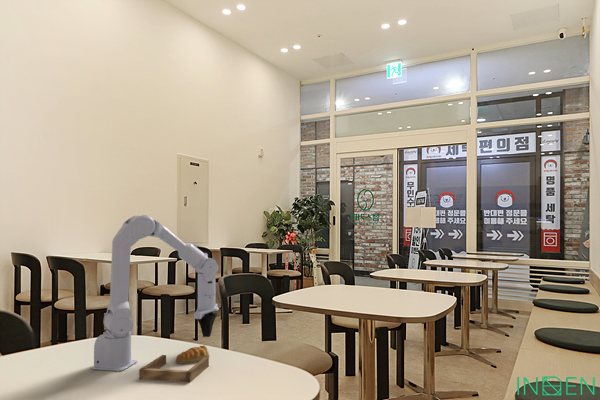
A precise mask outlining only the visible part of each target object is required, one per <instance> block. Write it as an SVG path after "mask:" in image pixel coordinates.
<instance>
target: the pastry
mask: <svg viewBox="0 0 600 400" xmlns="http://www.w3.org/2000/svg"><path fill="white" fill-rule="evenodd" d="M204 357H209V358H210V353H209V351H208V348H207V346H206V345H199V346H194V347H190V348H188V349H187V350H185V351H182V352H181V353H180V354H178V355H177V356H176V359H175V361H176V362H177V363H179V364H181V365H182V364H183V365H187V364H197V363H198V362H199V361H201V360H202V359H203V358H204Z"/></svg>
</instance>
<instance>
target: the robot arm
mask: <svg viewBox="0 0 600 400" xmlns="http://www.w3.org/2000/svg"><path fill="white" fill-rule="evenodd" d="M147 237H154V238H158V239H159V240H161V241H162V242H164V243H165V244H166V245H168V246H169V247H171V248H173V249H174V250H176V251H177V252H178V253H177V255H178V258H179V259H181V260H182V261H184V262H185V263H186V264H188V265H189V266H190V267H192V268H193V269H194V271H195V273H197V308H196V310H195V312H194V319H195V320H197V322H198V324H199V326H200V330H201V334H202V337H203V338H209V337H211V335H212V331H213V326H214V322H215V321H216V318H217V315H218V311H219V310H220V308H219V307H218V303H216V300H217V299H216V275H217V273H218V271H219V268H220V267H219V265H218V263H217V261H216V259H214V258H212V257H208V256H209V254H208V253H207V252H203V251H202V250H201V249H199V248H198V245H197V244H196V243H192V242H186V243H185V242H184V241H183V240H181V239H180V238H179V237H178V236H177V235H176V234H174V233H173V232H172V231H171V230H170V229H168V228H167V227H166V226H165V225H163V224H162V223H161V222H160V221H158V220H156V219H154V218H153V217H152V216H151V215H147V214H142V215H134V216H131V217H130V218H128V219H127V220H124V222H123V223H122V225H121V227H120V229H119V230H118V231H117V233H116V234H115V236H114V237H113V238H112V243H111V262H110V263H111V265H110V267H111V268H110V269H111V270H110V291H109V302H108V305H107V308H106V313H105V315H104V317H103V325H104V327H105V328H106V331H104V333H103V334H100V335H99V336H97V338H96V340H94V341H95V342H94V345H93V366H92V368H91V370H95V371H96V370H100V371H115V372H122V371H124V370H126V369H128V368H129V367H131V366H133V365H135V364H136V363H138V360H137V359H136V360H135V359H132V329H133V326H134V320H133V318H132V316H131V306H130V303H129V299H130V298H129V294H130V268H131V247H133V246H134V245H135V244H136V243H137V242H138V241H140V240H142V239H144V238H147Z"/></svg>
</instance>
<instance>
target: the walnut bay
mask: <svg viewBox="0 0 600 400" xmlns="http://www.w3.org/2000/svg"><path fill="white" fill-rule="evenodd" d="M166 364H167V354H161V355H160V356H159V357H157V358H156V359H154V360H152V361H151V362H149V363H146V365H144V366H142V367H141V368H139V370H138V371H139V373H138V376H139V377H138V380H144V381H145V380H148V381H163V382H164V381H166V382H179V383H181V382H182V383H191V382H192V381H194V380H195V379H196V378H197V377H198V376H199V375H200V374H202V373H203V372H204V371H205V370H206V369H208V367H209V365H210V356H209V357H204V358H203V359H202V360H201V361H199V362H196V363H195V364H194V365H193V366H192V367H191V368H189V369H188V370H187V369H186V370H184V369H183V370H182V369H169V368H168V369H166V368H165V369H164V368H162V367H164V366H165V365H166Z"/></svg>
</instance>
